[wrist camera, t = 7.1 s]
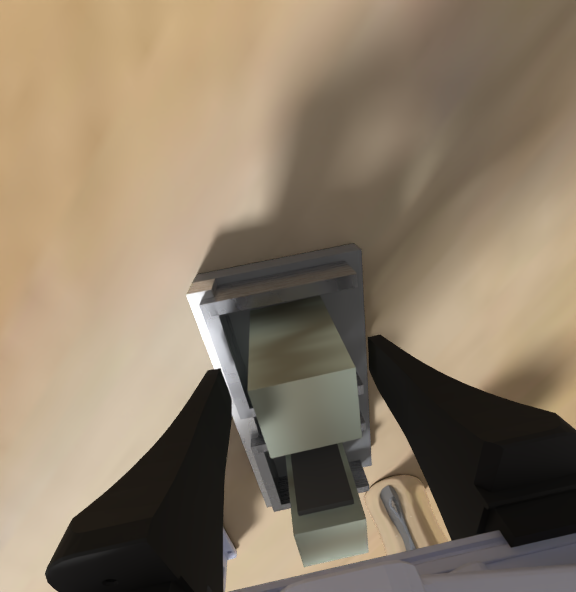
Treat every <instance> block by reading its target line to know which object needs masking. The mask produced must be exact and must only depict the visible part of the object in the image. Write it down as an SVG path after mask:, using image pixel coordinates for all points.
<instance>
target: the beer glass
mask: <svg viewBox="0 0 576 592" xmlns="http://www.w3.org/2000/svg"><path fill="white" fill-rule="evenodd" d="M364 501H365V505H366V508H367V510H368V512H369V514H370V516H371V518H372V520H373V522H374V524H375V526H376V528H377V530H378V532H379V535H380V538H381V540H382V543H383V546H384V549H385V553H386V556H387V555H392V554H396V553H400V552H405V551H409V550H414V549H418V548H422V547H427V546H431V545H436V544H440V543H444V542H449V541H448V540H447V538H446V536H445V534H444V533H443V531H442V529H441V527H440V526H439V523H438V521H437V519H436V517H435V515H434V512H433V510H432V507H431V504H430V501H429V498H428V495H427V492H426V490H425V487H424V485H423V483H422V482H421V480H420V479H418V478H417V477H414V476H411V475H396V476H391V477H388V478H385V479H383V480H381V481H379V482H377V483H376V484H374V485H373V486H372V487H371V488H370V489H369V491H367V493H366V495H365V498H364Z"/></svg>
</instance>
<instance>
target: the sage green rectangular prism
mask: <svg viewBox="0 0 576 592" xmlns="http://www.w3.org/2000/svg"><path fill="white" fill-rule="evenodd" d="M248 394H249V397H250V400H251V403H252V405H253V408H254V411H255V414H256V417H257V420H258V423H259V426H260V428H261V431H262V434H263V437H264V440H265V443H266V446H267V449H268V451H269V454H270V457H271V458H275V457H280V456H284V455H289V454H293V453H297V452H302V451H306V450H311V449H315V448H320V447H324V446H328V445H333V444H337V443H342V442H346V441H350V440H355V439H359V438H362V432H361V421H360V410H359V399H358V389H357V378H356V367H355V365H354V363H353V361H352V359H351V357H350V355H349V353H348V351H347V349H346V347H345V345H344V343H343V341H342V339H341V337H340V335H339V333H338V331H337V329H336V327H335V325H334V323H333V321H332V319H331V317H330V315H329V313H328V311H327V309H326V307H325V304H324V302H323V300H322V298H321V296H316V297H311V298H306V299H302V300H297V301H293V302H288V303H283V304H279V305H274V306H270V307H265V308H260V309H256V310H251V311H250V331H249V363H248Z"/></svg>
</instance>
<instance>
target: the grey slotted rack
mask: <svg viewBox="0 0 576 592" xmlns="http://www.w3.org/2000/svg"><path fill="white" fill-rule="evenodd" d="M186 296H187V298H188V301H189V303H190V306H191V309H192V311H193V314H194V317H195V319H196V322H197V325H198V327H199V330H200V332H201V335H202V338H203V340H204V343H205V346H206V348H207V351H208V353H209V356H210V359H211V361H212V364H213V367H214V369H218V368H221V371H222V373H223V376H224V379H225V382H226V384H227V387H228V390H229V393H230V395H231V398H232V417H233V419H234V422H235V424H236V427H237V430H238V432H239V435H240V438H241V440H242V443H243V445H244V448H245V451H246V453H247V456H248V459H249V461H250V464H251V467H252V469H253V472H254V474H255V477H256V480H257V482H258V485H259V488H260V490H261V493H262V495H263V498H264V501H265V503H266V506H267V507H271V506H272V508H273V510H274V512H276V511H280V510H285V509H289V508H291V514H292V524H293V533H294V537H295V541H296V544H297V547H298V550H299V553H300V556H301V559H302V562H303V565H304V567H306V566H311V565H315V564H320V563H324V562H329V561H333V560H337V559H342V558H346V557H351V556H355V555H360V554H364V553H368V538H367V525H366V517H365V514H364V511H363V507H362V504H361V501H360V498H359V495H358V493H362V492H366V491H369V484H368V481H367V478H366V475H365V473H364V470H363V467H367V466H371V465H372V463H371V441H370V420H369V399H368V378H367V357H366V336H365V315H364V294H363V272H362V251H361V249H360V248H359V247H358V246H357V245H355V244H354V243H353V244H348V245H343V246H338V247H333V248H328V249H323V250H318V251H312V252H307V253H302V254H297V255H292V256H287V257H282V258H277V259H272V260H267V261H262V262H257V263H252V264H247V265H242V266H237V267H232V268H227V269H222V270H217V271H212V272H207V273H202V274H197V275H196V277H195V279H194V280H193V282H192V284H191V286H190V288H189V290H188V292H187V294H186ZM316 296H321V298H322V300H323V302H324V304H325V307H326V309H327V311H328V313H329V315H330V317H331V319H332V321H333V323H334V325H335V327H336V329H337V331H338V333H339V335H340V337H341V339H342V341H343V343H344V345H345V347H346V349H347V351H348V353H349V355H350V357H351V359H352V361H353V363H354V365H355V367H356V378H357V389H358V399H359V410H360V421H361V432H362V438H359V439H355V440H350V441H346V442H342V443H337V444H333V445H328V446H324V447H320V448H315V449H311V450H306V451H302V452H297V453H293V454H289V455H284V456H280V457H275V458H271V457H270V454H269V451H268V449H267V446H266V443H265V440H264V437H263V434H262V431H261V428H260V426H259V423H258V420H257V417H256V414H255V411H254V408H253V405H252V403H251V400H250V397H249V394H248V363H249V331H250V311H251V310H256V309H260V308H265V307H270V306H274V305H279V304H283V303H288V302H293V301H297V300H302V299H306V298H311V297H316Z"/></svg>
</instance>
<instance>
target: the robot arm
mask: <svg viewBox="0 0 576 592" xmlns="http://www.w3.org/2000/svg"><path fill="white" fill-rule="evenodd" d="M368 352H369V370H370V373H371V375H372V377H373V380H374V382H375V384H376V386H377V388H378V390H379V392H380V394H381V395H382V397H383V399H384V400H385V402H386V404H387V406H388V407H389V409H390V411H391V412H392V414H393V416H394V417H395V419H396V421H397V422H398V424H399V426H400V427H401V429H402V431H403V433H404V434H405V436H406V438H407V440H408V442H409V444H410V446H411V448H412V451H413V453H414V455H415V457H416V459H417V461H418V463H419V465H420V468H421V470H422V472H423V474H424V476H425V479H426V481H427V483H428V485H429V488H430V490H431V492H432V495H433V497H434V499H435V502H436V504H437V506H438V508H439V511H440V513H441V516H442V518H443V520H444V523H445V525H446V528H447V530H448V533H449V535H450V537H451V540H452V541H449V542H444V543H440V544H436V545H431V546H427V547H422V548H418V549H414V550H409V551H405V552H400V553H396V554H392V555H387V556H383V557H379V558H374V559H370V560H365V561H361V562H357V563H352V564H348V565H343V566H339V567H335V568H330V569H326V570H322V571H317V572H313V573H308V574H304V575H300V576H295V577H291V578H286V579H282V580H278V581H273V582H269V583H265V584H260V585H256V586H251V587H247V588H243V589H238V590H234V591H229V592H576V430H575V429H574V428H573V427H572V426H570V425H569V424H568V423H567V422H566V421H564V420H563V419H562V418H561V417H560V416H558V415H557V414H556V413H553V412H549V411H546V410H542V409H538V408H535V407H531V406H527V405H523V404H520V403H517V402H514V401H510V400H507V399H504V398H501V397H498V396H495V395H493V394H490V393H487V392H484V391H482V390H479V389H477V388H474V387H472V386H469V385H467V384H464V383H462V382H460V381H458V380H456V379H453V378H451V377H449V376H447V375H445V374H443V373H441V372H439V371H437V370H435V369H434V368H432V367H430V366H428V365H426V364H425V363H423V362H421V361H419V360H418V359H416V358H415V357H413V356H411V355H410V354H408V353H407V352H405V351H404V350H402V349H400V348H399V347H398V346H396V345H395V344H393V343H392V342H390V341H389V340H387V339H386V338H384V337H383V336H381V335H377V336H372V337H368ZM231 420H232V398H231V395H230V393H229V390H228V387H227V384H226V382H225V379H224V376H223V373H222V371H221V368H218V369H213V370H208V371H207V373H206V374H205V376H204V377H203V379H202V380H201V382H200V383H199V385H198V387H197V388H196V390H195V391H194V393H193V394H192V396H191V397H190V399H189V400H188V402H187V403H186V405H185V406H184V408H183V409H182V411H181V412H180V413H179V415H178V416H177V417H176V419H175V420H174V421H173V423H172V424H171V425H170V427H169V428H168V429H167V430H166V432H165V433H164V434H163V435H162V436H161V438H160V439H159V440H158V441H157V442H156V443H155V444H154V446H153V447H152V448H151V449H150V450H149V451H148V452H147V453H146V454H145V455H144V456H143V457H142V458H141V459H140V460H139V461H138V462H137V463H136V464H135V465H134V466H133V467H132V468H131V469H130V470H129V471H128V472H127V473H126V474H125V475H124V476H123V477H122V478H121V479H120V480H118V481H117V482H116V483H115V484H114V485H113V486H112V487H111V488H109V489H108V490H107V491H106V492H105V493H104V494H103V495H101V496H100V497H99V498H98V499H96V500H95V501H94V502H93V503H92V504H90V505H89V506H88V507H87V508H85V509H84V510H83V511H82V512H80V513H79V514H78V515H77V516H75V517H74V518H73V519H72V521H71V522H70V524H69V526H68V528H67V530H66V532H65V534H64V536H63V538H62V540H61V542H60V543H59V545H58V547H57V549H56V551H55V553H54V555H53V557H52V559H51V561H50V563H49V565H48V567H47V569H46V572H45V575H46V579H47V582H48V583H49V584H50V585H51V586H52V587H53V588H54V589H55V590H57V591H58V592H225V586H226V572H227V560H229V559H233V558H235V557H236V556H237V551H236V549H235V547H234V546H233V544H232V542H231V540H230V538H229V537H228V535H227V533H226V531H225V529H224V527H223V506H224V478H225V467H226V459H227V452H228V444H229V437H230V429H231Z"/></svg>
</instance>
